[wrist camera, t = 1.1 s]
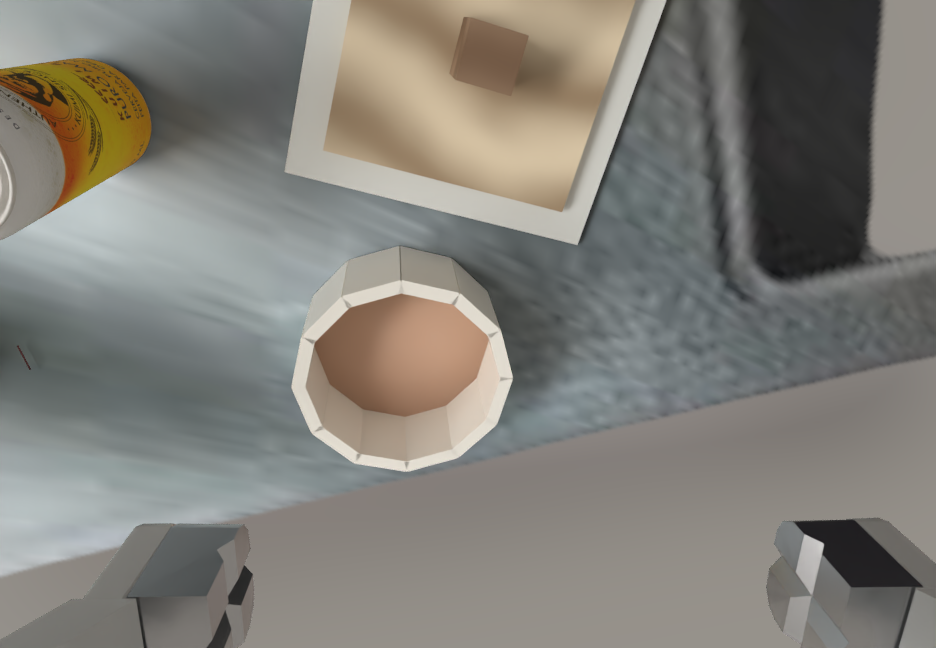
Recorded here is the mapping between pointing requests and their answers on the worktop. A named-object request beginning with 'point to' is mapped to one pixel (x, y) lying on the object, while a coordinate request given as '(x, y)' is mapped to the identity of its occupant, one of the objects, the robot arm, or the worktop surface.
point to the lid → (476, 90)
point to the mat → (444, 196)
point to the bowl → (401, 361)
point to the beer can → (64, 134)
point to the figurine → (24, 357)
